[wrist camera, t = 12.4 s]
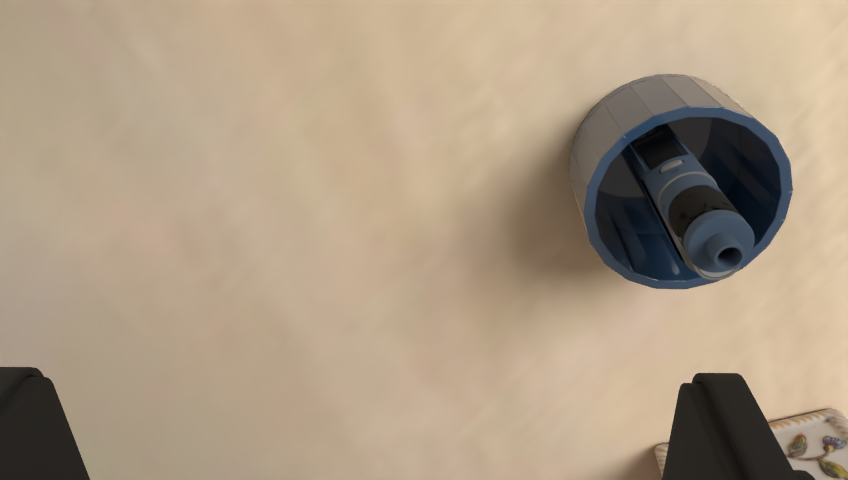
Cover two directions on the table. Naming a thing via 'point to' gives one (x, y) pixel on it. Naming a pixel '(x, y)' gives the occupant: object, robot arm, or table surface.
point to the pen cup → (713, 148)
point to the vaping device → (690, 205)
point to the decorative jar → (806, 444)
